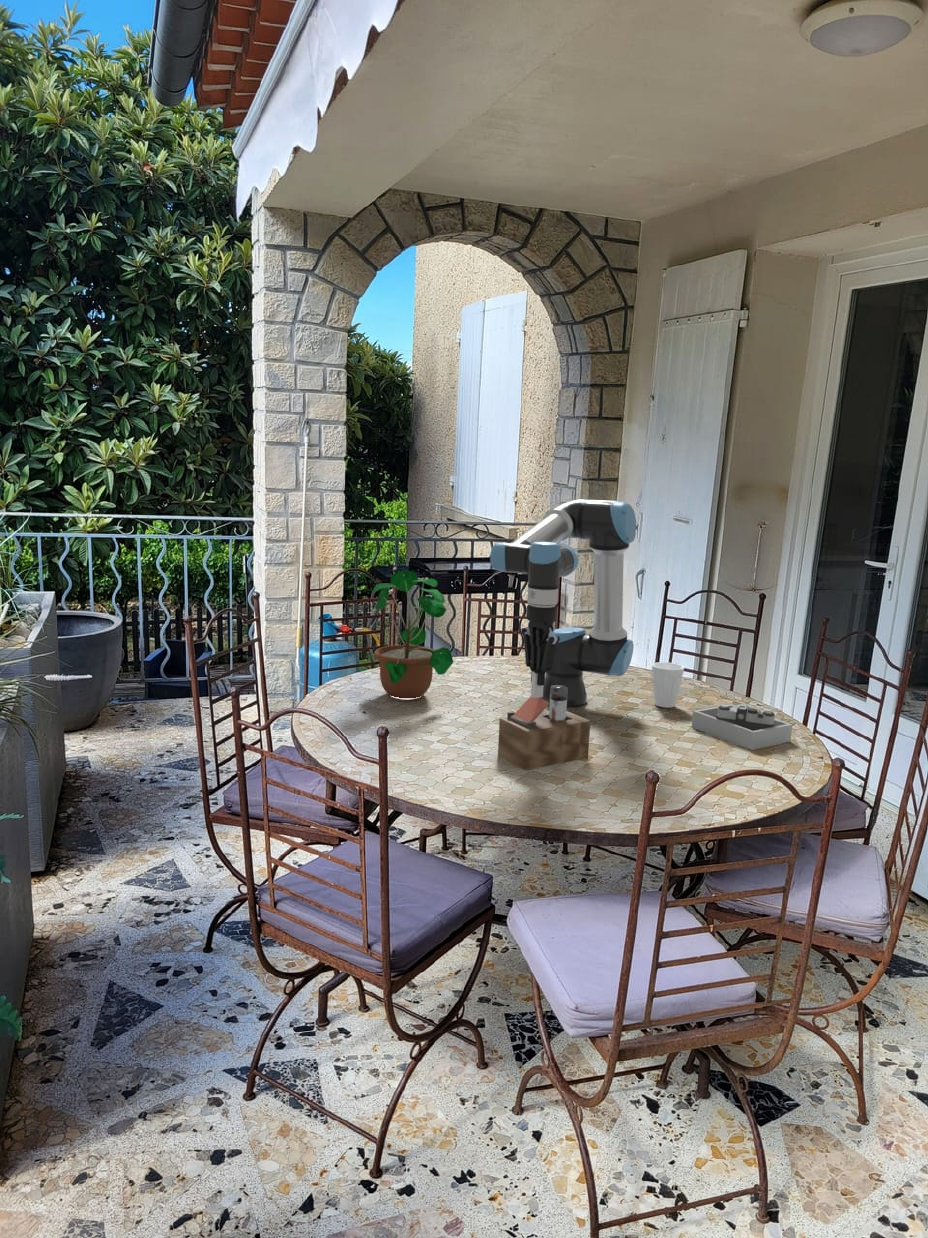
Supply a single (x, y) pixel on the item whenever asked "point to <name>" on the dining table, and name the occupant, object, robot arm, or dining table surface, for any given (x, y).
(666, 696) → the cup
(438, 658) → the potted plant
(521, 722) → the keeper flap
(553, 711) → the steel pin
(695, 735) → the dining table surface
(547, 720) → the block
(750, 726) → the camera
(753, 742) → the camera corral
